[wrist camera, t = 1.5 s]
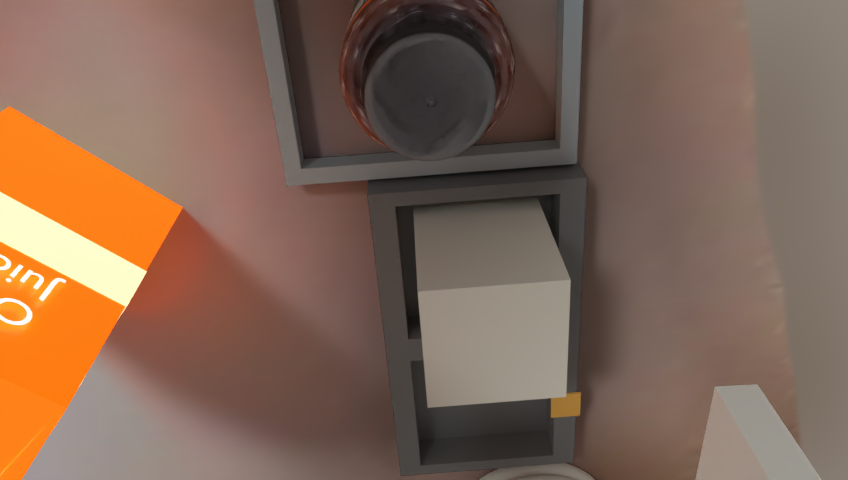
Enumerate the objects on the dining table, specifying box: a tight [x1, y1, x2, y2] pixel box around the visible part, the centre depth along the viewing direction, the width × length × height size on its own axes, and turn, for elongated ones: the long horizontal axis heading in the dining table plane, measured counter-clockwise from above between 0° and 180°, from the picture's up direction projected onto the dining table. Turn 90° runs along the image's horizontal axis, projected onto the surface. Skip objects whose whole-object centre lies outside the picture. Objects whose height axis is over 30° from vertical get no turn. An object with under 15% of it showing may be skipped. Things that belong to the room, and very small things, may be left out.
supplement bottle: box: [339, 0, 515, 161], centre depth 26 cm, size 6×6×11 cm
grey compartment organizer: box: [367, 161, 587, 476], centre depth 35 cm, size 18×10×8 cm, turn 4°
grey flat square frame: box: [253, 0, 583, 186], centre depth 30 cm, size 14×14×1 cm
